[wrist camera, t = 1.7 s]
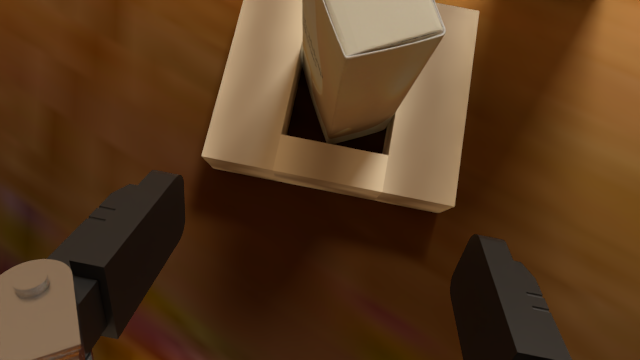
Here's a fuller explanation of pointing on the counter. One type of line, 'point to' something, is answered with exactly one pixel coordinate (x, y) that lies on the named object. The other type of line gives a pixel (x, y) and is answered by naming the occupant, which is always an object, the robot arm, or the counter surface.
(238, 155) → the beige flat frame
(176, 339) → the counter surface
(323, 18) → the skincare box
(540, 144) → the counter surface
